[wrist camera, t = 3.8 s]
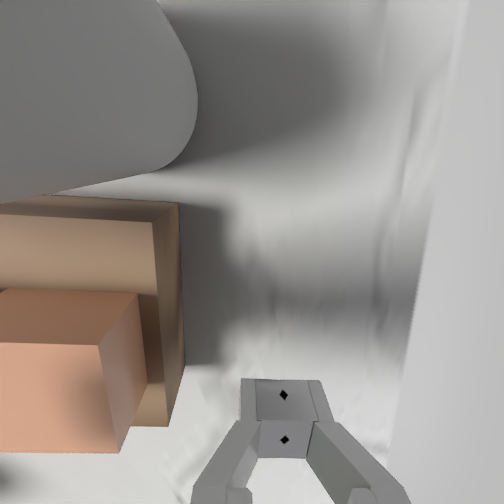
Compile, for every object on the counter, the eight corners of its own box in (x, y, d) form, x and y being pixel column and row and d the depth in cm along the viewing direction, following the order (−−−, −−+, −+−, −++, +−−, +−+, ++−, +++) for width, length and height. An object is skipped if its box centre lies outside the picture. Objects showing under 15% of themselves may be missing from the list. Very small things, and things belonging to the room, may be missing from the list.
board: (-71, 187, 12) (-207, 203, 9) (178, 202, 13) (151, 222, 9) (-3, 361, 16) (-76, 423, 13) (184, 366, 17) (168, 426, 13)
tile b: (8, 287, 10) (-83, 340, 7) (137, 293, 10) (97, 345, 7) (39, 381, 12) (-25, 452, 9) (147, 383, 12) (118, 453, 9)
